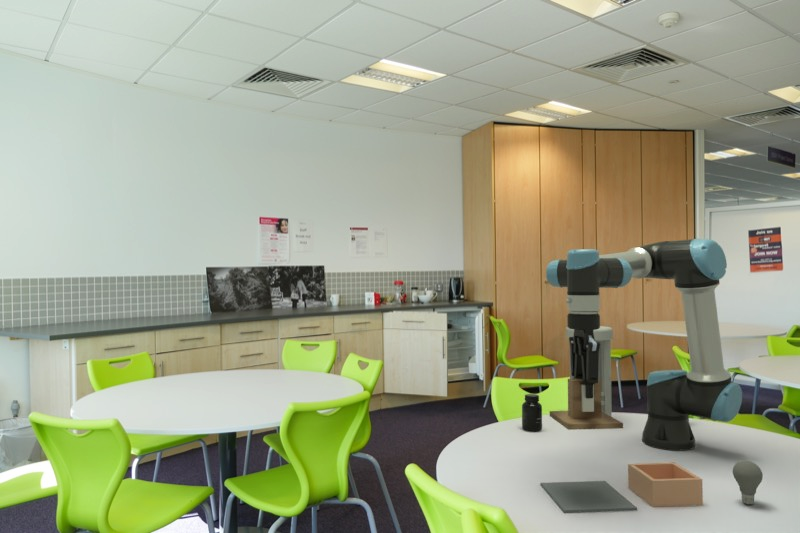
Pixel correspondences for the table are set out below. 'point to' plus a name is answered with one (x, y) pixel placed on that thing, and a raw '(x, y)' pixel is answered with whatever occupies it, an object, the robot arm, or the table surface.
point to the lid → (584, 420)
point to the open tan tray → (665, 484)
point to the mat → (587, 497)
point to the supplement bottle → (532, 413)
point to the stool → (604, 371)
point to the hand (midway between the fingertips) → (584, 409)
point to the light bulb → (747, 479)
